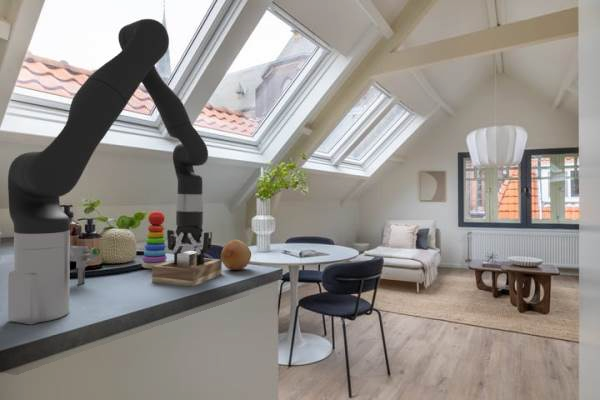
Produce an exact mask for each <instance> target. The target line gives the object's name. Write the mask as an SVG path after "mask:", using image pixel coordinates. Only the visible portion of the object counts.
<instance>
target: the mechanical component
mask: <svg viewBox="0 0 600 400" xmlns="http://www.w3.org/2000/svg"><path fill="white" fill-rule="evenodd" d="M100 253H101V250H100V248H98V247H91V248H90V249H89V247H88V246H86V245H85V246H84V245H70V262H75V263H76V266H75V268H76V269H77V285H82V284H85V283H86V282H85V280H86V279H85V277H86V275H85V274H86V273H85V272H86V270H85V269H86V267H88V265H87V263H90V262H95V261H98V260H99V257H100ZM89 257H90V258H89Z"/></svg>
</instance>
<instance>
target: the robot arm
mask: <svg viewBox="0 0 600 400" xmlns="http://www.w3.org/2000/svg"><path fill="white" fill-rule="evenodd" d="M169 37H170V36H169V33H168V31H167V28H166V27H165V25H164V24H163V23H162V22H160V21H158V20H156V19H153V18H142V19H139V20H137V21H134V22H130V23H129V24H126V25H124V26H122V28H120V30H119V32H118V38H117V39H118V43H119V46H120V48H121V51H120V52H119V53H118V54H117V55H115V56H114V57H112V58H111V59H109V60H108V61H107V62H105V63H104V64H103V65H101V66H100V67H99V68H97V69H96V70H95V71H94V72H93V73H91V75H90V76H89V77H88V78H87V79H86V81H84V83H83V84H82V85H81V87H80V88H79V89H77V92H75V94H74V96H73V98H72V100H71V103H70V107H69V111H68V115H67V116H68V117H67V119H66V122H65V124H64V126H63V128H62V130H61V131H60V132H59V134H58V135H57V136H56V137H55V138H54V139H53V140H52V141H51V142H50V144H48V146H47V147H46V148H44V150H42V151H29V152H24V153H22V154H19V155H18V156H16V157H15V158H14V159H13V161H12V162H11V163H10V166H9V169H8V176H7V193H8V213H9V216H10V219H11V221H12V224H13V232H14V233H13V270H12V271H9V272H8V274H7V275H8V280H7V281H8V284H7V285H8V287H7V288H8V289H7V290H8V291H7V294H8V297H7V298H8V300H7V303H8V304H7V306H8V307H7V314H8V315H7V316H8V317H7V321H8V322H14V323H19V324H25V325H35V324H37V323H42V322H49V321H53V320H57V319H60V318H62V317H64V316H66V315H68V314H69V313H70V274H71V273H70V270H71V269H70V267H71V264H70V263H71V261H70V246H71V245H70V244H71V219H70V217H69V216H68V215H67V214H66V213H65V212H64V211H63V210H62V207H61V204H60V203H61V202H60V197H63V196H66V195H67V194H68V193H70V192H71V191H72V190H73V189H74V188H75V186H76V185H77V184H78V182H79V181H80V178H81V176H82V175H83V173H84V171H85V169H86V167H87V165H88V164H89V162H90V160H91V157H92V155H93V154H94V152H95V150H97V147H98V146H99V145H100V143H101V141H102V140H103V139H104V137H105V136H106V135H107V133H108V131H109V130H110V129H111V127H112V126H113V125H114V123H115V122H116V121H117V119H118V118H119V117H120V115H121V113H122V112H123V111H124V109H125V108H126V107H127V105H128V103H129V101H130V99H132V96H133V95H134V94H135V93H136V91H137V90H138V88H139V87H140V85H141V84H142V85H143V87H144V88H145V90H146V92H147V93H148V95H149V96H150V98H151V101H152V102H153V103H154V106H155V108H156V110H157V112H158V113H159V116H160V118H161V121H162V123H163V125H164V127H165V129H166V131H167V133H168V135H169V136H170V137H171V138H173V139H177V140H178V141H179V143H177V145H175V146H174V149H173V151H172V163H173V166H174V171H175V175H176V179H177V197H176V208H175V209H176V211H175V213H176V214H175V218H176V219H175V222H176V223H175V225H176V229H174V228H173V229H168V230H167V231H166V235H167V249H168V251H172V252H173V253H174V255H173V260H174V262H175V265H177V254H179V253H182V252H183V251H182V250H183V248H184V247H185V245H186V244H188V245H192V247H193V248H194V249H195V251H197V259H196V266H198V265H201V264H204V258H205V253H208V252H211V250H212V248H211V247H212V237H213V232H212V231H204V230H203V224H204V220H203V219H204V218H203V217H204V199H203V177H202V176H201V175H199V174H196V172H195V170H194V166H195V167H198V166H202V165H204V164H206V163H207V162H208V158H209V151H208V147H207V145H206V143H205V141H204V139H203V138H202V136H201V135H200V134H199V132H198V131H197V130H196V128H195V127H194V126H193V124H192V122H191V119H190V117H189V114H188V112H187V110H186V107H185V105H184V103H183V102H182V100H181V98H180V97H179V96H178V94H176V93H175V92H174V90H173V89H172V88H171V87H170V86H169V85H168V84H167V83H166V82H165V80H164V79H163V77H162V76H161V75H160V73H159V71H158V69H157V67H156V65H157V63H159V61H160V60H161V59H162V58H163V57H164V56H165V55H166V53H167V51H168V49H169V44H170V38H169ZM177 237H178V238H177ZM201 237H202V239H203V241H202V239H201Z"/></svg>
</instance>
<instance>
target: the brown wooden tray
mask: <svg viewBox="0 0 600 400" xmlns="http://www.w3.org/2000/svg"><path fill="white" fill-rule="evenodd" d="M222 264H223V262H222V260H221V258H220V259H218V258H206V257H204V264H201V265H198V266H195V267H192V268H189V269H186V268H177V265H175V262H174V259H173V260H169V261H167V262H165V263H162V264H158V265H155V266H152V271H151V274H152V275H151V283H156V284H164V285H165V284H166V285H173V286H175V285H176V286H185V287H195V286H197V285H200V284H202V283H205V282H207V281H209V280H211V279H213V278H216V277H218V276H220V275H222V270H223V269H222V268H223V267H222V266H223V265H222Z"/></svg>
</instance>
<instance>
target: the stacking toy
mask: <svg viewBox="0 0 600 400" xmlns="http://www.w3.org/2000/svg"><path fill="white" fill-rule="evenodd" d="M165 218H166V217H165V215H164V213H163V212H162V211H159V210H155V211H151V212H150V213H149V215H148V218H147V219H148V222H149V224H151V225H149V226H148V227H147V230H148V232H147V233H146V236H147V238H146V239H145V242H146V243H145V244H144V248H145V250H144V251H143V256H142V262H141V267H142V268H144V269H152V266H155V265H158V264H162V263H165V262H168V261H167V255H166V254H167V250H166V247H167V246H166V243H165V242H166V238H165V237H164V236H165V232H164V230H165V227H164V225H162V224H164V222H165Z"/></svg>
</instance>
